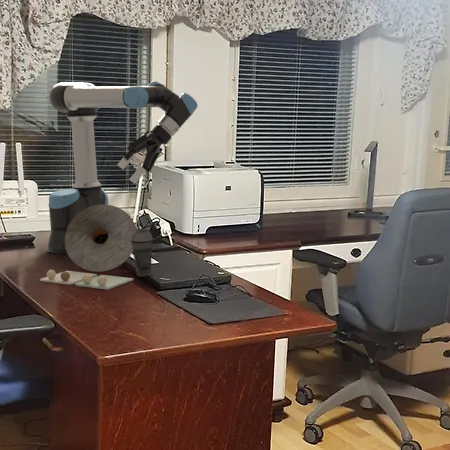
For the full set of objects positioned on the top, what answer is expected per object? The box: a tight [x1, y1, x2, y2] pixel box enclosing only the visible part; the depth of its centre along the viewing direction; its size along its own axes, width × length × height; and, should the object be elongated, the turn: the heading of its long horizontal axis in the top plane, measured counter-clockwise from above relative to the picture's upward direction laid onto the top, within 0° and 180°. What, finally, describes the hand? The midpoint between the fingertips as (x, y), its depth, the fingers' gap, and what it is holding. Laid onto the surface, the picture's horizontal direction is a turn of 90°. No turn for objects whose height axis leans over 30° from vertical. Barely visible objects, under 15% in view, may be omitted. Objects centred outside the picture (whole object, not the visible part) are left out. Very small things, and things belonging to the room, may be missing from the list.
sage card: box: [74, 274, 134, 291], centre depth 235 cm, size 13×13×4 cm
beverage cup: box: [131, 214, 154, 277], centre depth 243 cm, size 7×7×20 cm
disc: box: [65, 204, 137, 272], centre depth 262 cm, size 25×18×25 cm
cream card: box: [39, 269, 98, 286], centre depth 243 cm, size 13×13×4 cm
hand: (126, 174), depth 265 cm, fingers open, 13 cm apart
